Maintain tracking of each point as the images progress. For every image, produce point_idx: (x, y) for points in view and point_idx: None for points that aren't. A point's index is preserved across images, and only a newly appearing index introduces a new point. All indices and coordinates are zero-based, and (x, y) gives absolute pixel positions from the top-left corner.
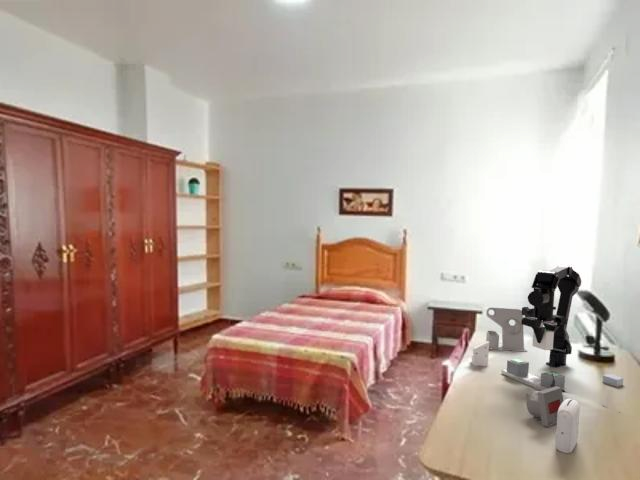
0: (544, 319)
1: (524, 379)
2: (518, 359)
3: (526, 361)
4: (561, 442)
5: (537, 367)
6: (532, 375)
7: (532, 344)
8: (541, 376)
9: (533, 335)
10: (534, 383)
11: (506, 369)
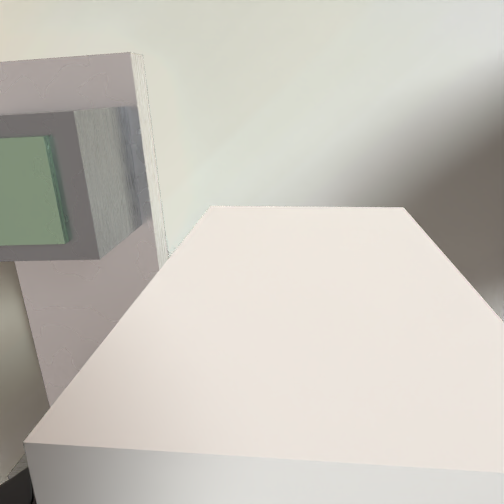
0: None
1: (24, 299)
2: (26, 166)
3: (94, 228)
4: None
5: (473, 39)
6: (146, 265)
7: (205, 212)
8: (24, 459)
9: (150, 299)
10: (42, 375)
11: (19, 69)
